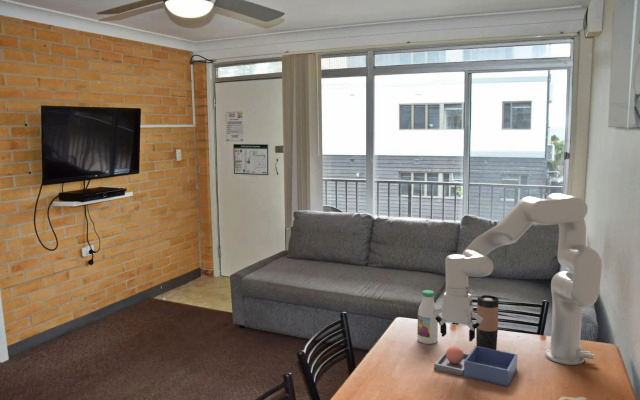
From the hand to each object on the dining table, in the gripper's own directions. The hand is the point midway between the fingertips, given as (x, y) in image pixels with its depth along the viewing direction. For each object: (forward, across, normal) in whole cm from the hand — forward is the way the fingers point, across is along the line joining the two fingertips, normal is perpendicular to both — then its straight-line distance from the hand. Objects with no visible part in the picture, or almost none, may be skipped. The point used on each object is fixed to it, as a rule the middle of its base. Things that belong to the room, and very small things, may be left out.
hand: (457, 337), depth 180 cm
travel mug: (+11, -5, -18) cm, 21 cm away
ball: (+6, +1, +1) cm, 6 cm away
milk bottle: (+10, +17, -15) cm, 24 cm away
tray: (+10, +1, +1) cm, 10 cm away
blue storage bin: (+10, -11, +1) cm, 15 cm away
